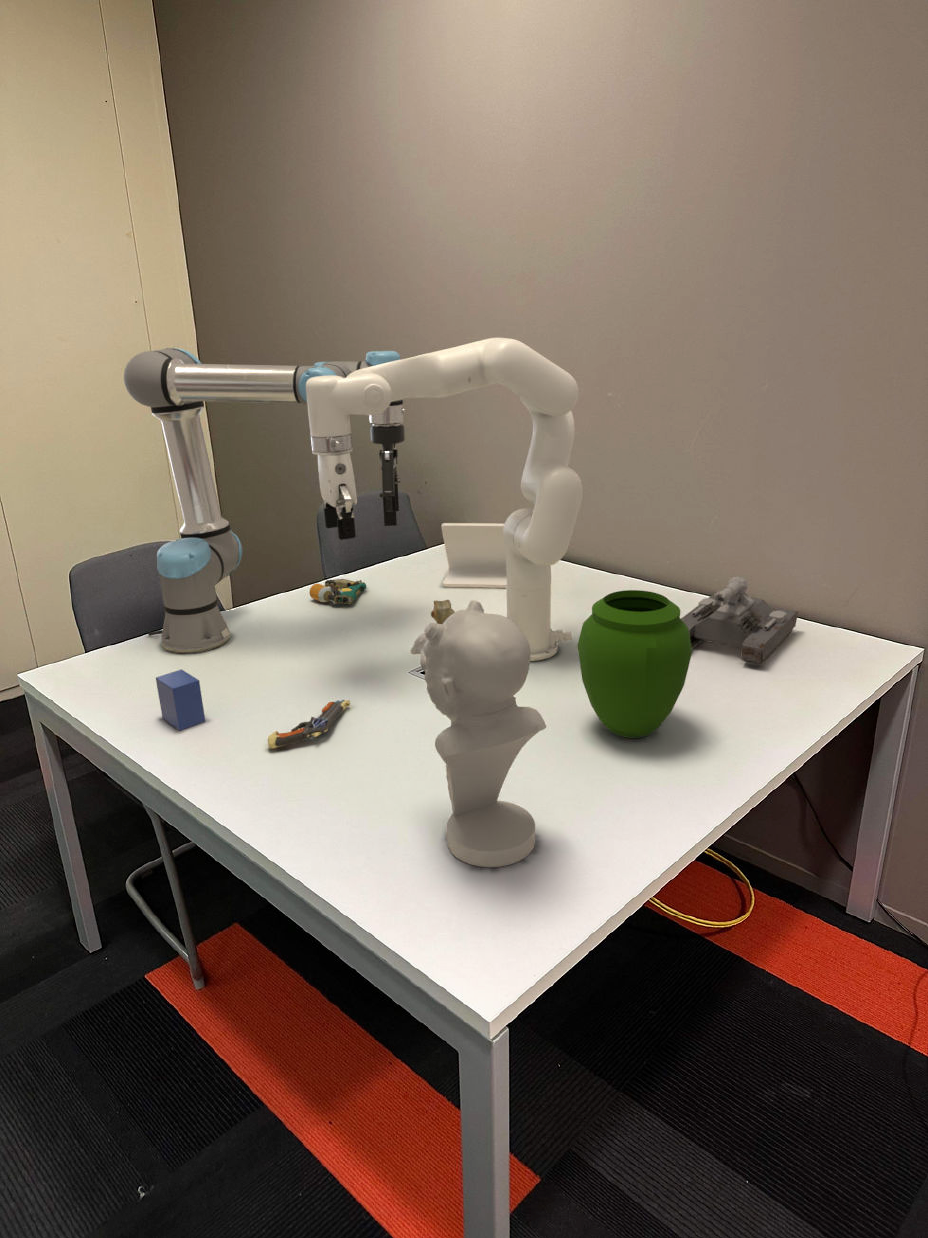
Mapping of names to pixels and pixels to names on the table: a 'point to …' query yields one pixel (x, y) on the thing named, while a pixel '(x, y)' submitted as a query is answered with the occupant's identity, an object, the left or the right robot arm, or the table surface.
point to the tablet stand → (475, 555)
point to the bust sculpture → (481, 729)
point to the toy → (740, 622)
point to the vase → (634, 660)
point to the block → (180, 699)
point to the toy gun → (309, 726)
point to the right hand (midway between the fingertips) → (340, 532)
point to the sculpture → (441, 611)
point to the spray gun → (337, 591)
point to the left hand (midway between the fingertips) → (391, 518)
